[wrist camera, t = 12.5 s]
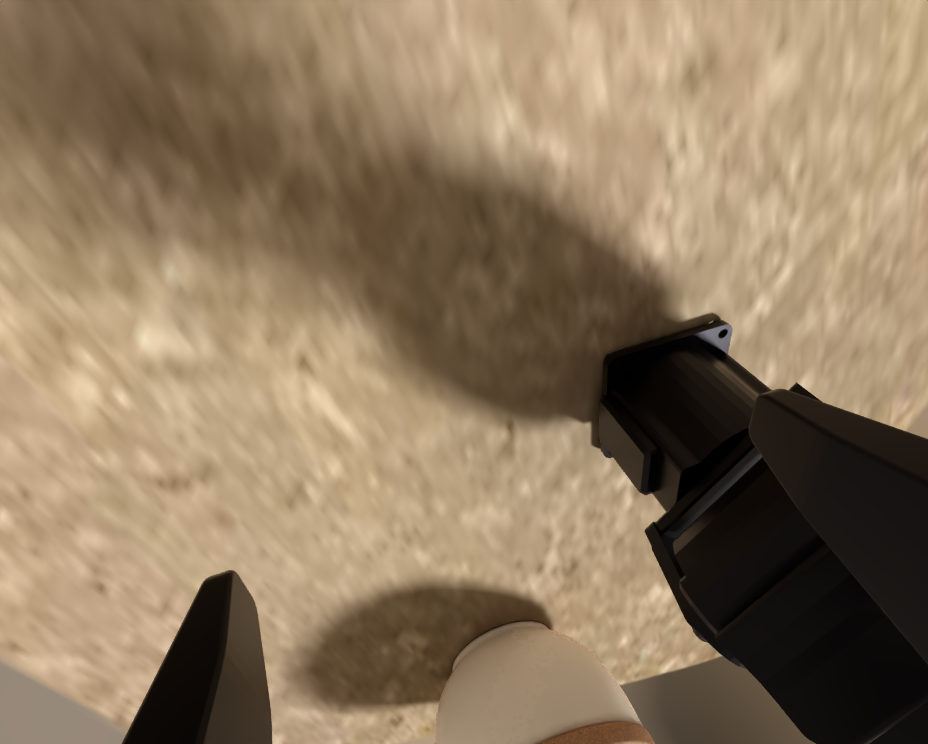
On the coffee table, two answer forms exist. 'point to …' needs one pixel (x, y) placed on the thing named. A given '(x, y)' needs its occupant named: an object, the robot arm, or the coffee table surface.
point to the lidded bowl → (533, 693)
